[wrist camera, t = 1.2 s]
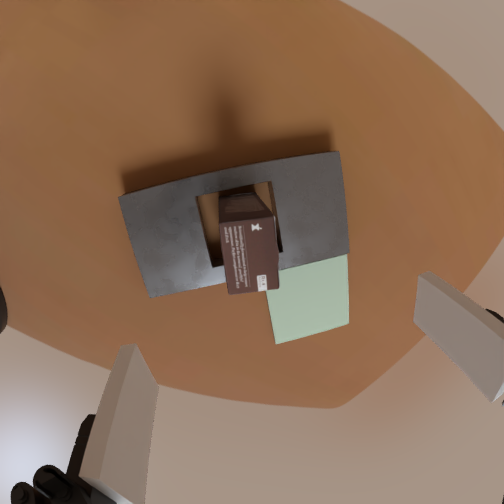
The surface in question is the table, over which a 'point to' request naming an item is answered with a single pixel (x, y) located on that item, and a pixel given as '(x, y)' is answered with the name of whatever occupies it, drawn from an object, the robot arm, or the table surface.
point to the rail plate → (187, 189)
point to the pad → (310, 299)
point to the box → (248, 244)
